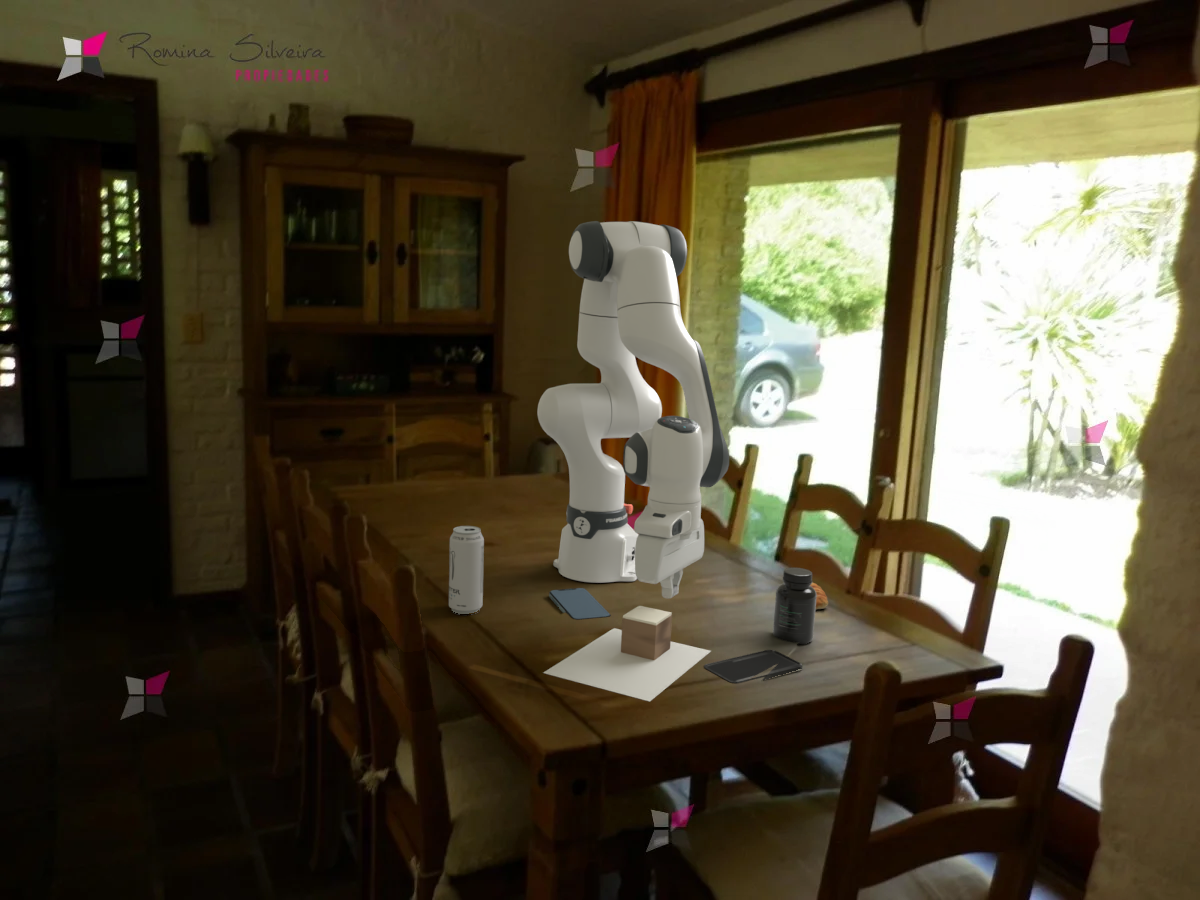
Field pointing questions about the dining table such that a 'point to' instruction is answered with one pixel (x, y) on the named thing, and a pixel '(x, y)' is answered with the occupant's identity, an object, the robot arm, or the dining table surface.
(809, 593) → the supplement bottle
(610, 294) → the robot arm
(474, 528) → the energy drink can
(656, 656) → the walnut cube
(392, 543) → the dining table surface
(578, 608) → the smartphone
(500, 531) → the dining table surface
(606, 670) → the white mat
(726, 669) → the phone
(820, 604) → the pastry
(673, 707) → the dining table surface
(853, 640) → the dining table surface
